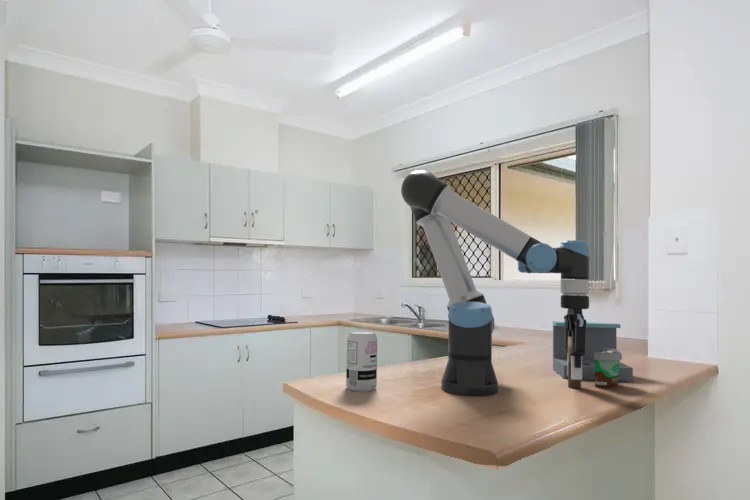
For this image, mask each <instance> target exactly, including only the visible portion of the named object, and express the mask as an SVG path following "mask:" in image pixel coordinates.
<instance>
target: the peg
mask: <svg viewBox="0 0 750 500" xmlns="http://www.w3.org/2000/svg"><path fill="white" fill-rule="evenodd" d="M570 353H571V354H572V353H573V352H572V337H568V379H567V387H568V388H570V389H579V390H580V389H582V380H577V379H571V356H570Z"/></svg>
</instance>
